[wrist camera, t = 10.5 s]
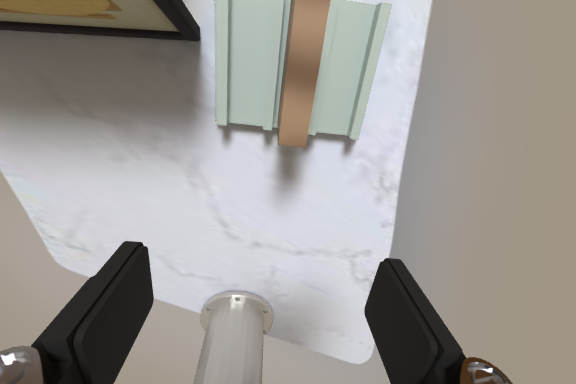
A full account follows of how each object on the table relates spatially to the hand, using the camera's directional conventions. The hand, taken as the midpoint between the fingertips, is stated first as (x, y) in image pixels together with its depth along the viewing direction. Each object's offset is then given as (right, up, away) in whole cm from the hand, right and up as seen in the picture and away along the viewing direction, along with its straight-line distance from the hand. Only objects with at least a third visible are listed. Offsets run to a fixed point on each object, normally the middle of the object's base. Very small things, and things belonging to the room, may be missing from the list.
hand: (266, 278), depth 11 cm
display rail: (+2, +17, +18) cm, 25 cm away
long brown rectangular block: (+2, +17, +17) cm, 24 cm away
